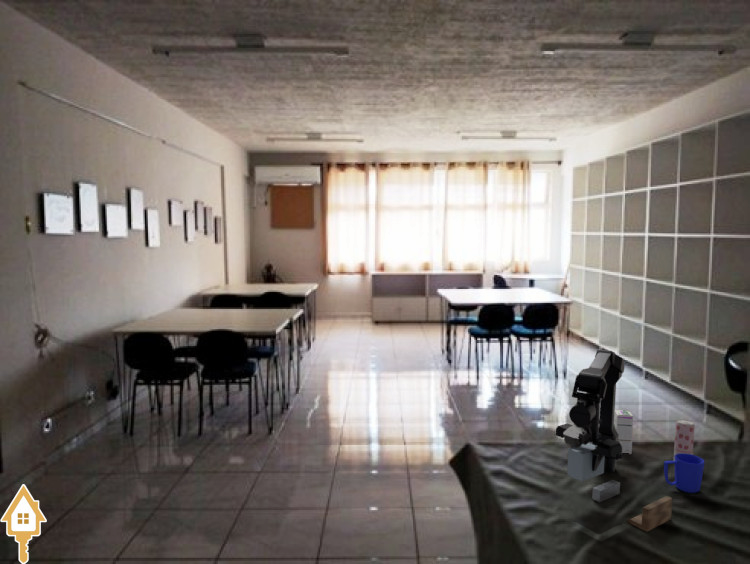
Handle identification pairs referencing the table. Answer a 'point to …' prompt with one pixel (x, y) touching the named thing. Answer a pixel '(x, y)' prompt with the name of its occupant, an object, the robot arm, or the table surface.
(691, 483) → the mug
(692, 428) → the beverage can
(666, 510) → the shelf
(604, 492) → the grey rectangular block
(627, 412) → the syrup box
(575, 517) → the table surface
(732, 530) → the table surface
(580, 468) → the blue-grey rectangular block
